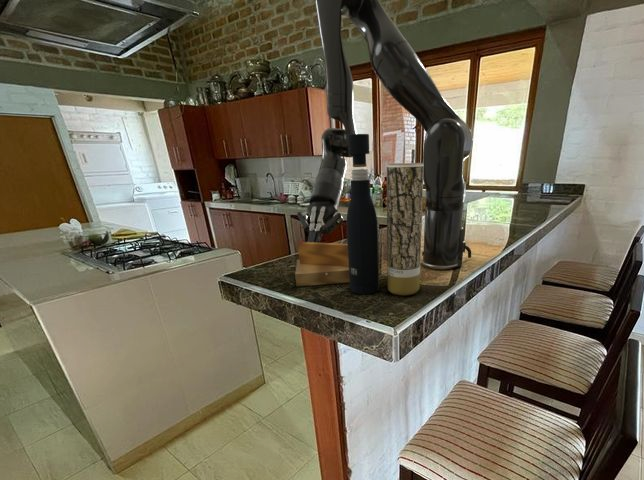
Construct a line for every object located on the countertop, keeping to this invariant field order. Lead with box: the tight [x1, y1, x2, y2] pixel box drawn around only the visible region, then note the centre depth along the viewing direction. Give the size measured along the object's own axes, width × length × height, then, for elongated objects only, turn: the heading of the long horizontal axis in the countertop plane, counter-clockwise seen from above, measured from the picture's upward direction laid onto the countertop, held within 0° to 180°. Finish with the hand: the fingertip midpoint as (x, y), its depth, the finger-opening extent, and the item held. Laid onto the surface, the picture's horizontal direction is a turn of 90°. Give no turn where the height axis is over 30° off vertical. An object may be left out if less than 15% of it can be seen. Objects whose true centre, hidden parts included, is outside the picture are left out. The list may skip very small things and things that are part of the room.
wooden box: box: [288, 259, 350, 287], centre depth 82 cm, size 17×17×3 cm
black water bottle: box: [345, 133, 380, 295], centre depth 67 cm, size 6×6×30 cm
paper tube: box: [386, 162, 424, 297], centre depth 66 cm, size 7×7×25 cm
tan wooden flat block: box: [297, 240, 349, 266], centre depth 80 cm, size 13×2×5 cm, turn 74°
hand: (312, 246), depth 85 cm, fingers closed
